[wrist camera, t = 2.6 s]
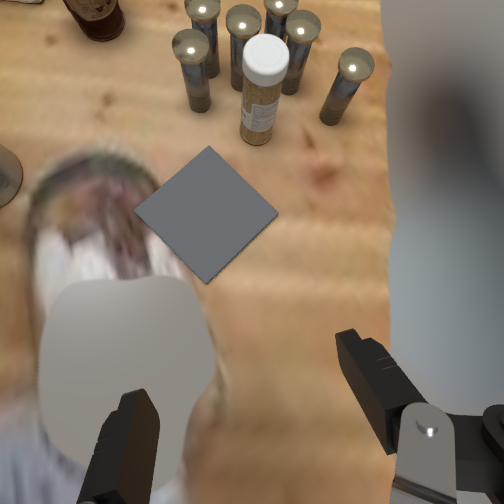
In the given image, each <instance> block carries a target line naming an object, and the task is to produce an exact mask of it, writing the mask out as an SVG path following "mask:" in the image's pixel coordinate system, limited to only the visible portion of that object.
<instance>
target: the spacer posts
mask: <svg viewBox="0 0 504 504" xmlns="http://www.w3.org/2000/svg"><path fill="white" fill-rule="evenodd" d="M298 1H299V0H264V6H265V9H266V10H267V13H266V21H265V30H264V34H271V35H274V36H276V37H278V38H280V39H281V40H282V41H283V42H284V43H286V38H287V36H288V38H287V43H286V46H287V48H288V50H289V64H288V68H287V72H286V75H285V77H284V78H283V83H282V87H281V92H282V93H283V94H286V95H292V94H294V93H296V92H297V90H298V88H299V84H300V81H301V78H302V74H303V71H304V68H305V65H306V61H307V58H308V55H309V51H310V48H311V45H312V42H314V41H315V40H316V39H317V38H318V36H319V33H320V30H321V22H320V20H319V18H318V17H317V16H316V15H315V14H314V13H312V12H310V11H307V10H297V11H296V9H297V6H298ZM184 4H185V10H186V13H187V15H188V16H189V17H190V18H191V21H192V28H193V29H184V30H182V31H180V32H178V33H177V34H176V35H175V36H174V38H173V41H172V48H173V52H174V55H175V57H176V58H177V59H178V60H179V61H180V63H181V68H182V72H183V77H184V82H185V86H186V91H187V96H188V100H189V105H190V107H191V109H192V110H193V111H195V112H198V113H203V112H206V111H207V110H208V109H209V108H210V106H211V100H210V90H209V81H208V78H214V77H216V76H217V75H218V73H219V70H220V69H219V51H218V33H217V17H218V16H219V14H220V10H221V7H220V0H185V1H184ZM261 21H262V20H261V15H260V13H259V12H258V11H257V10H256V9H255V8H254V7H252V6H249V5H245V4H240V5H236V6H234V7H232V8H231V9H230V10H229V11H228V12H227V15H226V27H227V30H228V31H229V33H230V39H231V85H232V87H233V88H234V89H235V90H237V91H243V80H244V79H243V78H244V72H243V67H242V60H243V50H244V47H245V45H246V43H247V42H248V41H249V40H250V39H251V38H252V37H254V36H256V35H257V34H258V33H259V31H260V29H261ZM374 67H375V63H374V59H373V57H372V56H371V54H370V53H369V52H367V51H366V50H364V49H361V48H357V47H353V48H349V49H347V50H345V51H344V52H343V53H342V54H341V56H340V59H339V61H338V70H339V72H338V74H337V76H336V78H335V81H334V83H333V85H332V87H331V89H330V92H329V94H328V96H327V98H326V100H325V103H324V105H323V107H322V109H321V111H320V119H321V121H322V122H323V123H324V124H326V125H329V126H333V125H336V124H337V123H338V122H339V120H340V119H341V117H342V115H343V113H344V112H345V110H346V108H347V107H348V105H349V103H350V101H351V100H352V98H353V96H354V94H355V93H356V91H357V89H358V87H359V86H360V84H361V82H363V81H365V80H367V79H368V78H369V77H370V76H371V74H372V72H373V70H374Z"/></svg>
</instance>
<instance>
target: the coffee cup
mask: <svg viewBox="0 0 504 504" xmlns="http://www.w3.org/2000/svg"><path fill="white" fill-rule="evenodd" d="M63 2H64V3H65V5H66V7H67V8H68V10H69V11H70V12H71V14H72V16H73V17H74V19H75V20H76V21H77V22H78V24H79V26H80V27H81V29H82V30H83V32H84V33H85V34H86V35H87V36H88V37H89V38H91V39H94V40H99V41H104V40H108V39H111V38H113V37H115V36H117V35H118V34H119V33H120V32H121V30H122V28H123V26H124V23H125V20H124V13H123V12H122V11H121V9H120V7H119V5H118V0H63Z"/></svg>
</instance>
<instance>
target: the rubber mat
mask: <svg viewBox="0 0 504 504" xmlns="http://www.w3.org/2000/svg"><path fill="white" fill-rule="evenodd" d="M134 211H135V212H136V213H137V214H138V215H139V216H140V217H141V218H142V219H143V220H144V221H145V223H146V224H147V225H148V226H149V227H150V228H151V229H152V230H153V231H154V232H155V233H156V234H157V235H158V236H159V237H160V238H161V239H162V240H163V241H164V242H165V243H166V244H167V245H168V246H169V247H170V248H171V249H172V250H173V251H174V252H175V253H176V254H177V255H178V256H179V257H180V258H181V259H182V260H183V261H184V262H185V263H186V264H187V265H188V266H189V268H190V269H191V270H192V271H193V272H194V273H195V274H196V275H197V276H198V277H199V278H200V279H201V280H202V281H203V282H204V283H205V284H207V283H208V282H209V281H210V280H211V279H212V278H213V277H214V276H216V275H217V274H218V273H219V272H220V271H221V270H222V269H223V268H224V267H225V266H226V265H227V264H228V263H229V262H230V261H231V260H232V259H233V258H234V257H235V256H236V255H237V254H238V253H239V252H240V251H241V250H242V249H243V248H244V247H245V246H246V245H247V244H248V243H250V242H251V241H252V240H253V239H254V238H255V237H256V236H257V235H258V234H259V233H260V232H261V231H262V230H263V229H264V228H265V227H266V226H267V225H268V224H269V223H270V222H271V221H272V220H273V219H274V218H275V217H276V216H277V215H278V212H277V211H276V210H275V209H274V208H273V207H272V206H271V205H270V204H269V203H268V202H267V201H266V200H265V199H264V198H263V197H262V196H261V195H260V194H259V193H258V192H257V191H256V190H255V189H254V188H253V187H251V186H250V185H249V184H248V183H247V182H246V181H245V180H244V179H243V178H242V177H241V176H240V175H239V174H238V173H237V172H236V171H235V170H234V169H233V168H232V167H231V166H230V165H229V164H228V163H227V162H226V161H225V160H224V159H223V158H222V157H220V156H219V155H218V154H217V153H216V152H215V151H214V150H213V149H212V148H211V147H210V146H208V147H206V148H205V149H204V150H203V151H202V152H201V153H200V154H198V155H197V156H196V157H195V158H194V159H193V160H191V161H190V162H189V163H188V164H187V165H186V166H185V167H183V168H182V169H181V170H180V171H179V172H178V173H176V174H175V175H174V176H173V177H172V178H171V179H169V180H168V181H167V182H166V183H165V184H164V185H163V186H161V187H160V188H159V189H158V190H157V191H156V192H154V193H153V194H152V195H151V196H150V197H149V198H148V199H146V200H145V201H144V202H143V203H142V204H141V205H139V206H138V207H137V208H136V209H135V210H134Z"/></svg>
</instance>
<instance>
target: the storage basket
mask: <svg viewBox="0 0 504 504" xmlns="http://www.w3.org/2000/svg"><path fill="white" fill-rule="evenodd" d="M6 1H19V2H22V3H39V2H41V1H42V0H6Z"/></svg>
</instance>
